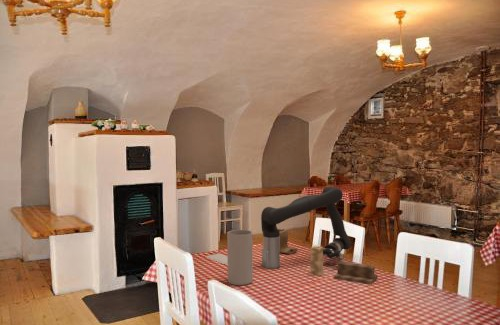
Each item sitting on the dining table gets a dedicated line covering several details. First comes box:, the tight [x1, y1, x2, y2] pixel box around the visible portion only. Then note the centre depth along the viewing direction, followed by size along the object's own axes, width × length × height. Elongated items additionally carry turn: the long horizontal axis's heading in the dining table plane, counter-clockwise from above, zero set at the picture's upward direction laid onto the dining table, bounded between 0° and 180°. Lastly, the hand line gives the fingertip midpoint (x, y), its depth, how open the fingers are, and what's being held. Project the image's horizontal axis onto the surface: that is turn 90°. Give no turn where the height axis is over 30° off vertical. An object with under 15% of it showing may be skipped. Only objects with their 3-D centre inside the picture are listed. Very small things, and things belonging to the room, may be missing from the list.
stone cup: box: [277, 228, 299, 255], centre depth 282 cm, size 15×12×15 cm
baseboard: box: [205, 251, 228, 266], centre depth 262 cm, size 31×3×12 cm
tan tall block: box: [309, 245, 324, 276], centre depth 237 cm, size 5×5×14 cm
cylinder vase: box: [226, 229, 254, 286], centre depth 224 cm, size 12×12×25 cm
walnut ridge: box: [333, 261, 378, 285], centre depth 229 cm, size 19×12×7 cm, turn 60°
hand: (322, 255), depth 245 cm, fingers open, 8 cm apart
